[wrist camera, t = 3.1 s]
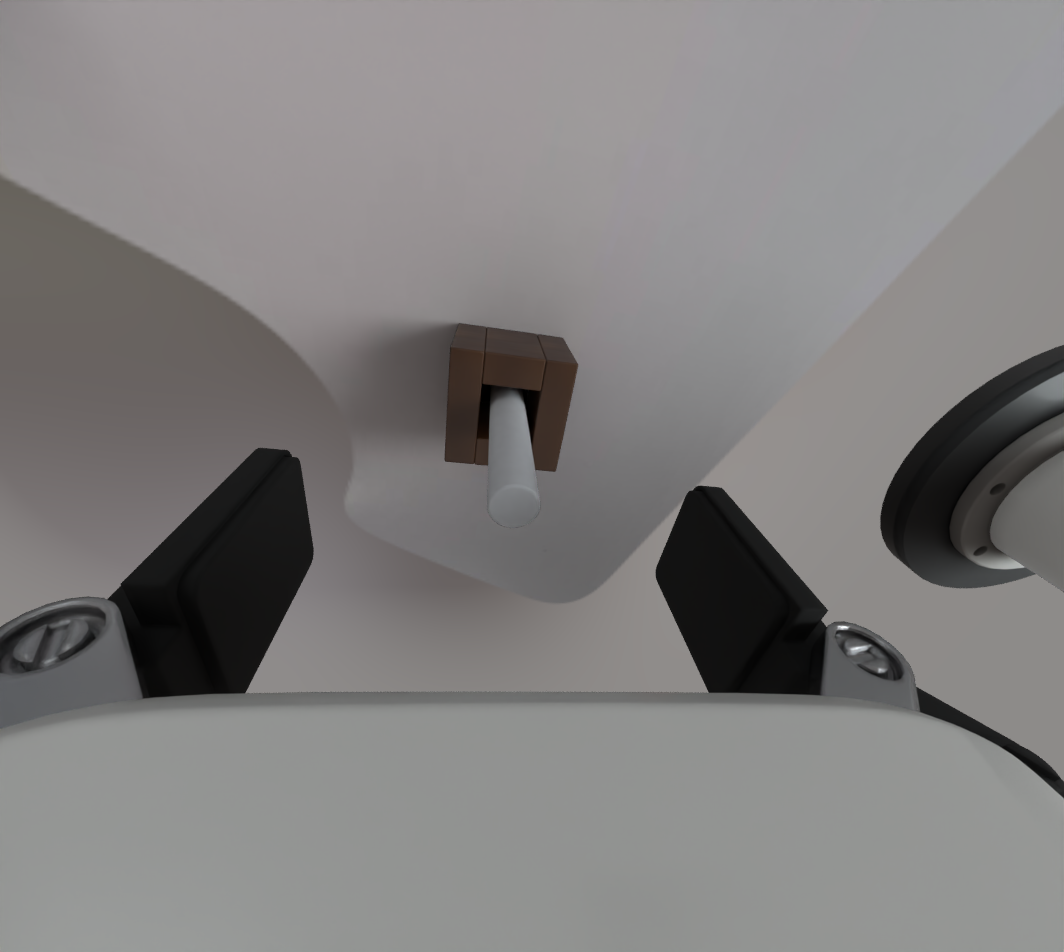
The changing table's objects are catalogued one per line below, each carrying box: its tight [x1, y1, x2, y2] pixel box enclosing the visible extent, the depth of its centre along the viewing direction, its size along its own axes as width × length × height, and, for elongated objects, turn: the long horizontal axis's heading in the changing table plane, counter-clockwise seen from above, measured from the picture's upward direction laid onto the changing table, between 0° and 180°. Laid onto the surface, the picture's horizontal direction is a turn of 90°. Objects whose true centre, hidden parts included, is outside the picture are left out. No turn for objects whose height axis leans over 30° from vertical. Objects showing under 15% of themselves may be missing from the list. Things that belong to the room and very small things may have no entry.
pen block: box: [445, 323, 578, 472], centre depth 18 cm, size 5×5×4 cm
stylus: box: [487, 385, 541, 528], centre depth 15 cm, size 1×1×10 cm
